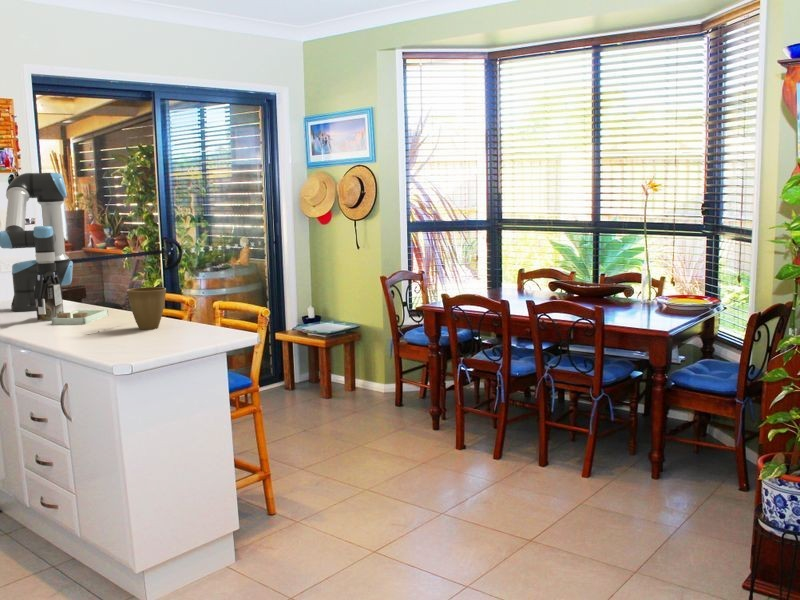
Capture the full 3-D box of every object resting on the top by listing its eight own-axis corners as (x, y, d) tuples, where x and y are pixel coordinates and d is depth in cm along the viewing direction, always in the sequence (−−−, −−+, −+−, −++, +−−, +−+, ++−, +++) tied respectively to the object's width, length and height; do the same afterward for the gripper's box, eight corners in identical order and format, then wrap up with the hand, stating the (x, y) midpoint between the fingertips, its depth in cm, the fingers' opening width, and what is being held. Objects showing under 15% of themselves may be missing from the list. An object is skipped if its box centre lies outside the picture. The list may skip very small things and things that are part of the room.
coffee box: (65, 320, 330) (61, 283, 328) (56, 322, 324) (53, 285, 322) (45, 320, 331) (42, 283, 329) (36, 322, 325) (33, 285, 323)
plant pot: (156, 331, 297) (154, 291, 295) (122, 331, 300) (119, 291, 298) (175, 325, 311) (172, 286, 309) (142, 324, 314) (139, 286, 312)
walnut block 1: (61, 322, 318) (60, 312, 318) (71, 321, 319) (70, 312, 318) (58, 323, 314) (57, 314, 314) (68, 323, 315) (67, 314, 314)
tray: (77, 318, 335) (77, 310, 334) (108, 317, 334) (108, 309, 334) (52, 326, 313) (51, 318, 313) (85, 326, 312) (84, 318, 312)
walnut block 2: (80, 321, 318) (79, 312, 318) (88, 322, 317) (87, 312, 317) (73, 323, 315) (72, 313, 314) (81, 323, 313) (80, 314, 313)
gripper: (52, 259, 336) (56, 307, 339) (21, 265, 312) (26, 316, 315) (68, 259, 336) (72, 307, 339) (39, 264, 312) (43, 316, 315)
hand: (50, 311), depth 327 cm, fingers open, 12 cm apart
